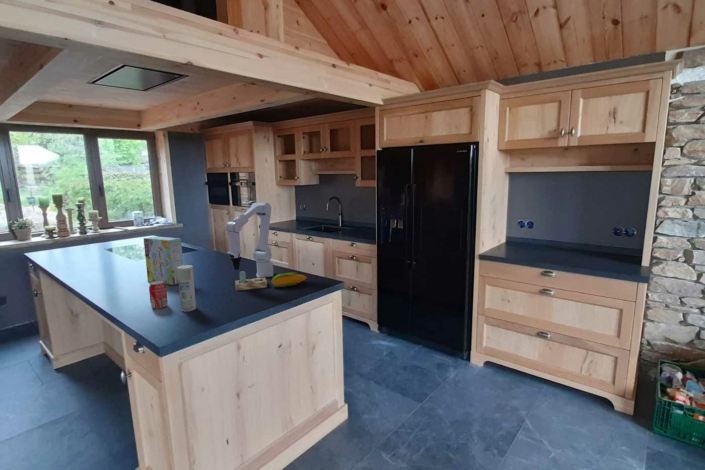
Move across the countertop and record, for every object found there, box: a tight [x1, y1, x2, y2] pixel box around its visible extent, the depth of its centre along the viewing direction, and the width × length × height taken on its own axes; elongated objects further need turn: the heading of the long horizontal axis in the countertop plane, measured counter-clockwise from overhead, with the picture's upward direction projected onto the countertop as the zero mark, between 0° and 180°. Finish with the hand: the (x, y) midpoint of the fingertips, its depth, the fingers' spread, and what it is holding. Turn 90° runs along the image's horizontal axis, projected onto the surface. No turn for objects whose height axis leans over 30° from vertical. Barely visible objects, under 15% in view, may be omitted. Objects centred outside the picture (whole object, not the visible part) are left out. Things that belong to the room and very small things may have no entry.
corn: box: [270, 272, 307, 288], centre depth 205 cm, size 7×8×20 cm
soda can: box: [148, 280, 168, 310], centre depth 174 cm, size 7×7×12 cm
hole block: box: [234, 277, 268, 291], centre depth 203 cm, size 16×8×4 cm, turn 110°
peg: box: [239, 270, 247, 283], centre depth 201 cm, size 3×3×9 cm
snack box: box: [143, 236, 184, 286], centre depth 213 cm, size 22×9×26 cm, turn 65°
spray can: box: [177, 264, 197, 312], centre depth 170 cm, size 6×6×20 cm
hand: (236, 268), depth 203 cm, fingers open, 7 cm apart
